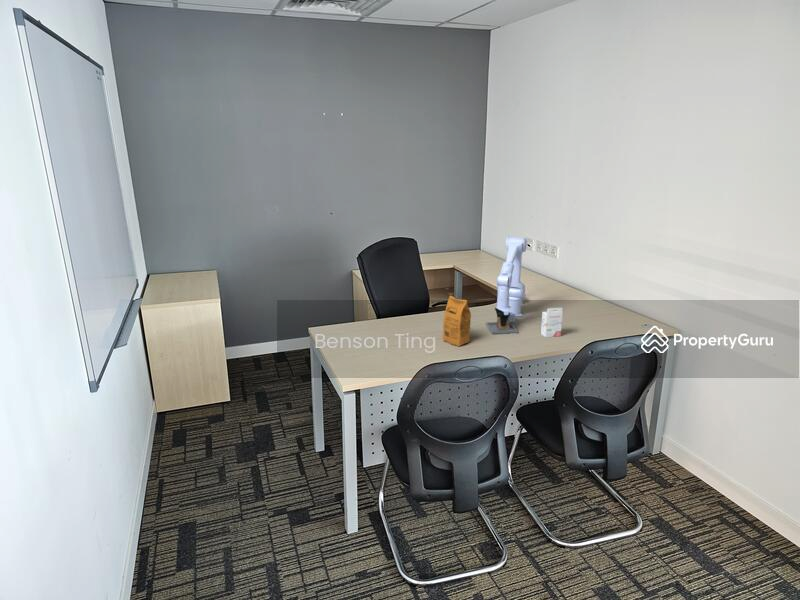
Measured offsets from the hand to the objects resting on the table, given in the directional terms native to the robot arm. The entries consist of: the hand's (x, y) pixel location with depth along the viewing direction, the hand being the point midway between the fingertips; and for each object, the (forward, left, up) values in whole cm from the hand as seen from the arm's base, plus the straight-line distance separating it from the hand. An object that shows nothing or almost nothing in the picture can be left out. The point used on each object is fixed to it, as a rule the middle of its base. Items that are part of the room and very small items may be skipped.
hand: (501, 323), depth 265 cm
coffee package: (+14, -26, -3) cm, 30 cm away
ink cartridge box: (+10, +22, -3) cm, 24 cm away
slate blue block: (-11, +7, -3) cm, 13 cm away
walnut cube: (0, +1, -2) cm, 2 cm away
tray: (0, 0, -3) cm, 3 cm away
